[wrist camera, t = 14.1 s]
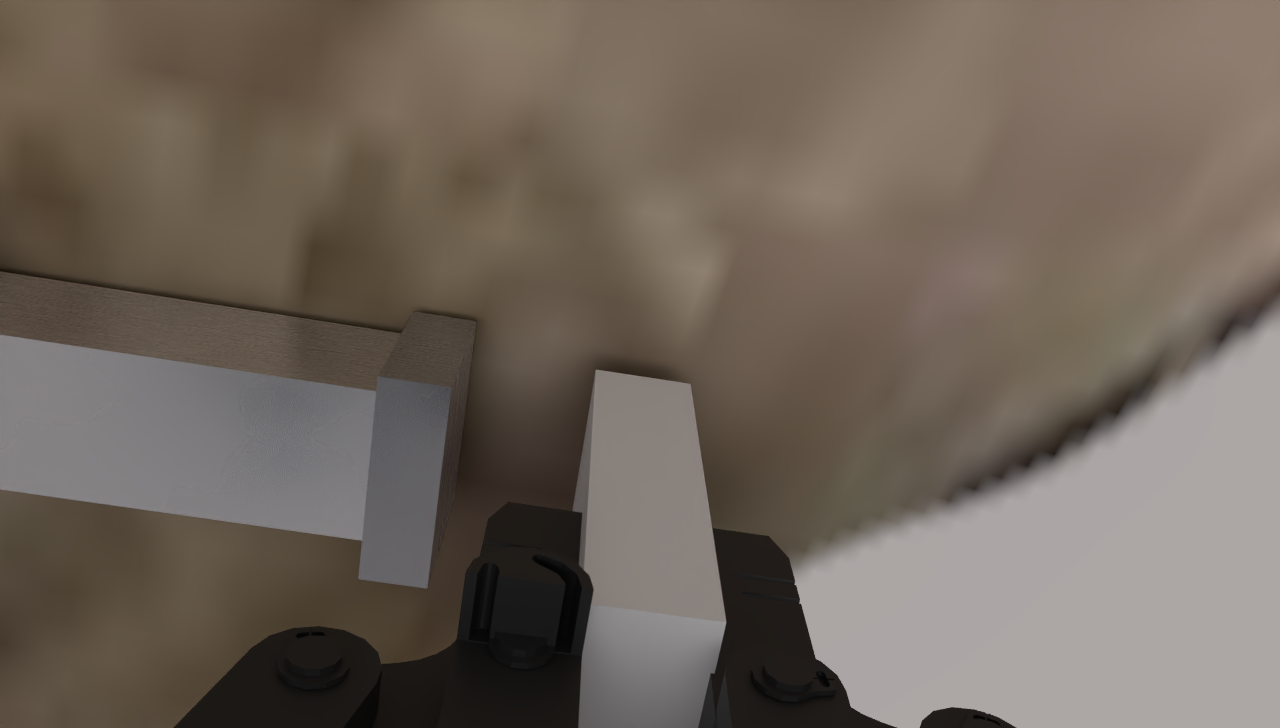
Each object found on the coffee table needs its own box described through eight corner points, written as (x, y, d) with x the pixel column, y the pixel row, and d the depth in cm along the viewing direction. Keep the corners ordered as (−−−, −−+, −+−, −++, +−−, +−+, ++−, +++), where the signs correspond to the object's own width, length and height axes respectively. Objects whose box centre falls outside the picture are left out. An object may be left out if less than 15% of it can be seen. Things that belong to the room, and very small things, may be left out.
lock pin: (-161, 409, 19) (-290, 488, 16) (-177, 219, 17) (-320, 270, 15) (454, 498, 19) (427, 588, 17) (476, 321, 18) (451, 387, 15)
